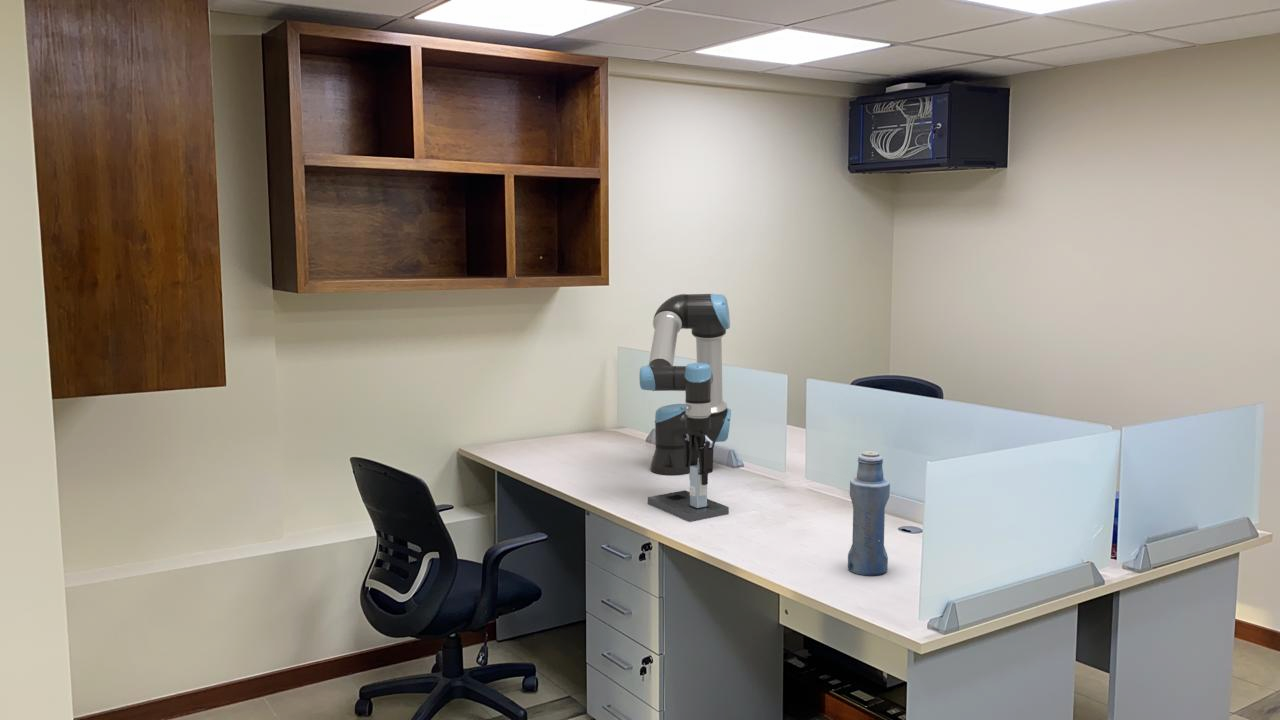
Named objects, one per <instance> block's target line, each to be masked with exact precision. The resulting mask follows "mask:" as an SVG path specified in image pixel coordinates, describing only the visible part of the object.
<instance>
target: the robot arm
mask: <svg viewBox="0 0 1280 720" xmlns="http://www.w3.org/2000/svg"><path fill="white" fill-rule="evenodd" d="M652 321H653V322H652V326H653V328H654V333H653V337H652V338H653V339H652V343H651V347H650V348H651V349H650V355H649V360H648V364H647V365H644V366H641V367H640V369H639V386H640V388H641V390H643V391H652V392H655V391H656V392H659V391H661V392H663V391H666V392H667V391H668V392H669V391H670V392H671V391H672V392H675V391H676V392H685V398H684V400H685V403H674V404H668V405H663V406H661V407H659V408H657V409H656V410H655V417H654V423H655V424H654V425H655V431H654V432H655V436H654V437H655V450H654V453H653V456H652V460H651V462H650V463H651V464H650V471H651V472H652V473H654V474H657V475H658V474H659V475H664V476H677V475H686V474H690V466H693V465H699V467H700V473H698V496H703V495H707V496H708V483H709V479H708V478H709V474H711V473H713V471H714V470H713V467H714V447H715V445H716V443H718V442H719V443H720V442H726V441H727V440H728V438H729V433H730V424H731V417H732V416H731V415H732V409H731V408H728V405H727V403H726V402H725V401H724V400H723V354H722V350H723V349H722V347H723V346H722V345H723V344H722V338H723V337H724V336H725V335H726V333H727V330H728V329H730V328H731V319H730V310H729V303H728V299H727V298H726V295H724V294H721V293H720V294H719V293H717V294H716V293H696V294H695V293H692V294H691V293H690V294H687V293H686V294H685V293H681V294H680V293H679V294H677V295H674V296H671V297H670V298H668V299H666V300H665V301H664V302H663V303H661V305H659V307H658V308H657V309H656V311H655V314H654V315H653V320H652ZM681 329H683V330H684V329H685V330H691V335H692V336H693V337H694V338H695V339H696V341H695V342H696V362H695V363H694V362H693V363H688V364H686V365H685V366H684V365H675V366H674V359H675V355H676V347H677V339H678V333H679V332H680V330H681Z"/></svg>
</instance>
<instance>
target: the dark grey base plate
mask: <svg viewBox="0 0 1280 720" xmlns="http://www.w3.org/2000/svg"><path fill="white" fill-rule="evenodd" d="M647 505H649V506H652V507H653V508H656V509H658V510H661V511H663V512H665V513H668V514H670V515H673V516H675V517H677V518H679V519H681V520H684V521H687V522H689V523H692V522H698V521H702V520H708V519H712V518H718V517H722V516H727V515H730V514H729V513H730V506H727V505H725V504H722V503H720V502H717V501H714V500H711V499H708V498H707V506H706V507H700V508H696V507H693V506H690V491H688V490H680V491H675V492H669V493H663V494H658V495H652V496H647Z"/></svg>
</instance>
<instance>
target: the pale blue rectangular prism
mask: <svg viewBox="0 0 1280 720" xmlns="http://www.w3.org/2000/svg"><path fill="white" fill-rule="evenodd" d="M698 473H700V467H699V464H697V465H693V466H690V473H689V492H690V506H693V507H696V508H700V507H706V506H707V499H708V494H707V495H703V496H698Z"/></svg>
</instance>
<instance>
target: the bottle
mask: <svg viewBox="0 0 1280 720" xmlns="http://www.w3.org/2000/svg"><path fill="white" fill-rule="evenodd" d="M883 459H884V458H883V456H882V455H880V453H879V452H878V451H872V450H869V451H868V450H867V451H866V450H865V451H862V452H861V454H858V458H857V462H858V464H857V470H856V471H857V472H856V476H855V477H852V478H851V479H850V481H849V497H850V500H851V503H852V540H851V541H852V544H851V546H850V549H849V550H848V553H847V567H848V569H849V571H850V572H852V573H854V574H857V575H862V576H880V575H883V574H886V572H887V571H888V563H889V562H888V561H889V557H888V553H887V550H886V547H885V521H886V520H885V519H886V517H885V512H886V511H885V510H886V509H885V508H886V506H887V503H888V501H889V499H890V493H891V491H890V490H891V483H890V481H889V480H888V479H886V478H884V469H883V463H884V460H883Z"/></svg>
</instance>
